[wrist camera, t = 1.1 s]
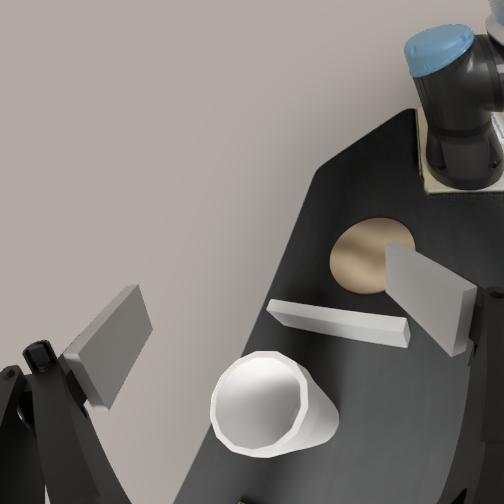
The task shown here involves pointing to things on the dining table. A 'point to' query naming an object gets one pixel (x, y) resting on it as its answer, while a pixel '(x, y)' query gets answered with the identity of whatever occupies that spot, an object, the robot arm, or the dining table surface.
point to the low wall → (342, 323)
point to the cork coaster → (366, 254)
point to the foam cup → (270, 407)
